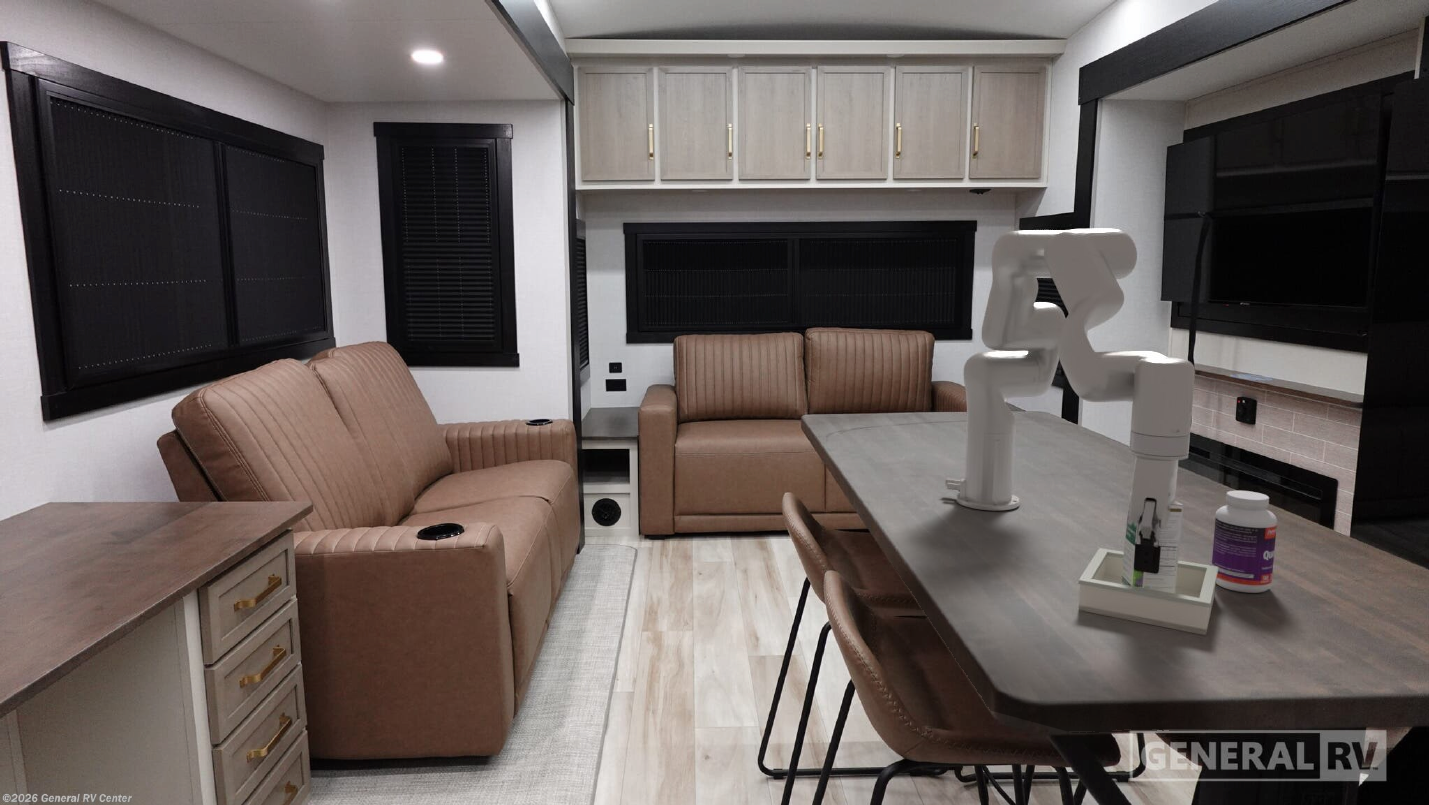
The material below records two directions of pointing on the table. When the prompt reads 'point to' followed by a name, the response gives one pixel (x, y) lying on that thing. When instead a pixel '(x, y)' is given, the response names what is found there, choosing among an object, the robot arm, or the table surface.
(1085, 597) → the bin
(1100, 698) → the table surface
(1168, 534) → the syrup box
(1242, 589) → the pill bottle
